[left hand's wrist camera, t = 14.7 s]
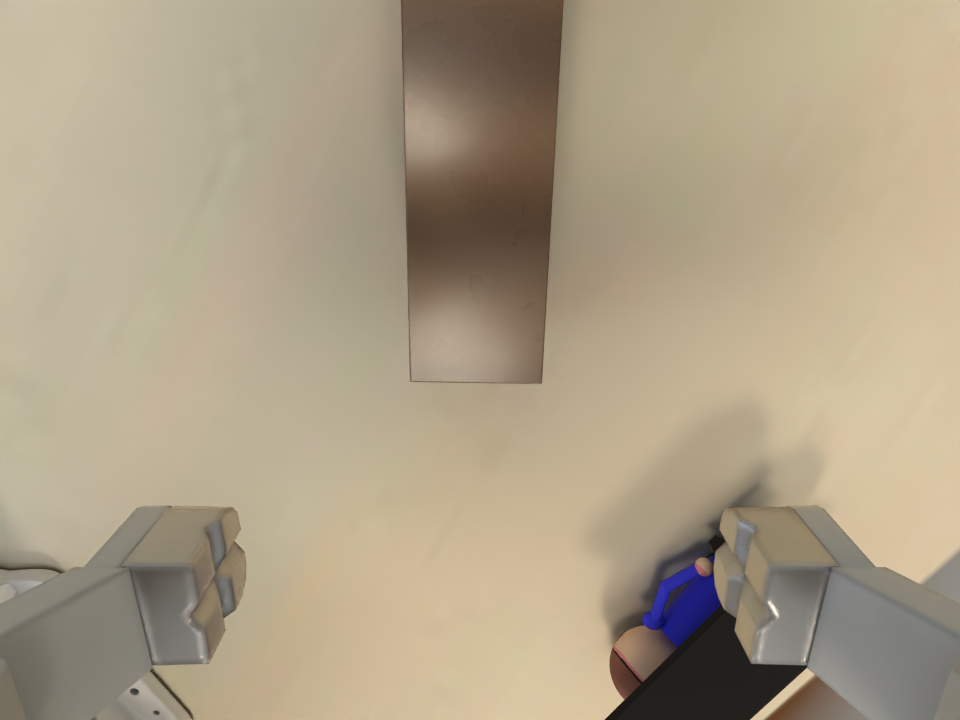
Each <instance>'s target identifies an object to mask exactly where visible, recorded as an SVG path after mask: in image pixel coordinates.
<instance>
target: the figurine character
mask: <svg viewBox="0 0 960 720" xmlns="http://www.w3.org/2000/svg"><path fill="white" fill-rule="evenodd" d="M725 541H726V540H725V538H724V537H723V535H722V533H721V534H720V535H719V536H717V535H715V536H714V537H713V538H712V539H711V540H710V541H709V543H710V545H711V546H710V547H709V548H708V554H707V558H708V557H710V556H712V558H711V559H710V560H709V559H707V558H703V557H702V558H699V559H697V560H696V562H695V563H694V564H693V565H691V566H689V567H687V568H685V569H683V570H682V571H680V572H678V573H676V574H674V575H673V576H671V577H669V578H667V579H665V580H663V581H661V583H660V586H659V589H658V592H657V595H656V598H655V601H654V604H653V607H652V610H651V612H647V613H645V614H644V615H643V618H642V621H643V624H644V625H642V626H636V627H633V628H631V629H629V630H627V631H625V632H624V633H623V634H622V635H621V636H620V637H619V638H618V639H617V641H616V642H615V644H614V646H613V648H612V651H611V655H610V673H611V677H612V680H613V683H614V685H615V687H616V689H617V690H618V692H619V694H620V695H621V696H622V697H623V698H624V699H625V700H624V701H623V702H622V703H621V704H620V705H619V706H618V707H617V708H616V709H615V710H614V711H613V712H612V713H611V714H610V715H609V716H608V717H607V718H606V719H605V720H750V719H751V718H752V717H753V716H755V715H756V714H757V713H758V712H759V711H760V710H761V709H762V708H763V707H764V706H765V705H767V704H768V703H769V702H770V701H771V700H772V699H773V698H774V697H775V696H776V695H778V694H779V693H780V692H781V691H782V690H783V689H784V688H785V687H786V686H787V685H788V684H790V683H791V682H792V681H793V680H794V679H795V678H796V677H797V676H798V675H799V674H801V673H802V672H803V671H804V670H805V669H806V668H807V667H808V665H778V664H751V662H750V660H749V658H748V656H747V654H746V652H745V650H744V648H743V646H742V644H741V642H740V640H739V638H738V636H737V634H736V632H735V625H736V619H737V618H735V617H734V616H733V615H731V614H730V613H728V612H727V611H725V610H724V608H723V606H722V604H721V602H720V600H719V598H718V594H717V591H716V587H715V580H714V569H713V568H714V560H715V556H713V555H715V552H716V551H717V550H718V549H719V548H720V547H721V545H722V544H723V543H724V542H725ZM692 579H693V580H692ZM691 580H692V581H691ZM689 581H691V582H690V583H689V584H688V585H687V587H686V588H685V589H684V590H683V591H682V592H681V594H680V595H679V596H678V597H677V598H676V599H675V600H674V602H673V603H672V604H671V605H670V606H669V607H668V609H667V610H666V611H665V612H664V610H665V607H666V604H667V601H668V598H669V595H670V592H671V591H672V590H674V589H676V588H678V587H680V586H681V585H683V584H685V583H687V582H689Z"/></svg>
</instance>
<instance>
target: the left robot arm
mask: <svg viewBox="0 0 960 720" xmlns="http://www.w3.org/2000/svg"><path fill="white" fill-rule="evenodd" d="M240 530H241V528H240V523H239V518H238V513H237V511H236V510H235V509H234V508H233V507H204V506H173V507H172V506H143V507H139V508H137V509H136V510H135V511H134V512H133V513H132V514H131V515H130V516H129V517H128V518H127V520H126V521H125V522H124V523H123V524H122V525H121V526H120V527H119V529H118V530H117V531H116V532H115V533H114V534H113V535H112V536H111V538H110V539H109V540H108V541H107V542H106V543H105V544H104V545H103V546H102V548H101V549H100V550H99V551H98V552H97V553H96V554H95V555H94V557H93V558H92V559H91V560H90V561H89V562H88V563H87V564H86V566H85V567H74V568H72V569H70V570H68V571H66V572H64V573H62V574H60V573H58V572H56V571H53V570H48V569H23V570H11V571H10V570H2V569H0V720H192V718H191V717H190V715H189V714H188V713H187V712H186V710H185V709H184V708H183V707H182V706H181V705H180V704H179V702H178V701H177V700H176V699H175V698H174V697H173V696H172V695H171V694H170V692H169V691H168V690H167V689H166V688H165V687H164V686H163V685H162V684H161V682H160V681H159V680H158V679H157V678H156V677H155V676H154V675H153V674H152V672H151V671H150V670H151V669H152V668H153V667H152V665H181V664H209V662H210V660H211V658H212V656H213V654H214V652H215V650H216V648H217V646H218V644H219V642H220V640H221V638H222V636H223V634H224V632H225V625H224V619H223V618H225V617H226V616H227V615H229V614H230V613H232V612H233V611H235V610H236V608H237V606H238V604H239V602H240V600H241V598H242V595H243V590H244V586H245V581H246V559H245V552H244V551H243V550H242V549H241V548H240V547H239V545H238V544H237V543H236V542H235V541H234V540H235V538H236V537H237V535H238V533H239V531H240ZM719 530H720V531H721V533H722V535H723V537H724V538H725V540H726V541H725V542H724V543H723V544H722V545H721V547H720V548H719V549H718V550H717V551H716V552H715V560H714V568H713V569H714V580H715V587H716V591H717V594H718V598H719V600H720V602H721V604H722V606H723V608H724V610H725V611H727V612H728V613H730V614H731V615H733V616H734V617H735V618H737V619H736V625H735V632H736V634H737V636H738V638H739V640H740V642H741V644H742V646H743V648H744V650H745V652H746V654H747V656H748V658H749V660H750V662H751V664H778V665H808V667H807V668H808V669H809V670H810V671H812V672H813V673H814V674H815V675H816V676H818V677H819V678H820V679H821V680H822V681H824V682H825V683H826V684H827V685H828V686H830V687H831V688H832V689H833V690H834V691H836V692H837V693H838V694H839V695H840V696H841V697H843V698H844V699H845V700H846V701H847V702H849V703H850V704H851V705H852V706H853V707H855V708H856V709H857V710H858V711H859V712H861V713H862V714H863V715H864V716H865V717H867V718H868V719H869V720H960V604H959V603H957V602H955V601H953V600H951V599H949V598H947V597H945V596H943V595H941V594H939V593H937V592H935V591H933V590H931V589H929V588H927V587H925V586H923V585H921V584H919V583H916V582H914V581H912V580H910V579H908V578H906V577H904V576H902V575H900V574H898V573H896V572H894V571H892V570H890V569H888V568H886V567H875V566H874V564H873V563H872V562H871V561H870V560H869V559H868V558H867V557H866V555H865V554H864V553H863V552H862V551H861V550H860V549H859V548H858V547H857V545H856V544H855V543H854V542H853V541H852V540H851V539H850V538H849V536H848V535H847V534H846V533H845V532H844V531H843V530H842V529H841V527H840V526H839V525H838V524H837V523H836V522H835V521H834V520H833V518H832V517H831V516H830V515H829V514H828V513H827V512H826V511H825V510H824V509H823V508H821V507H819V506H817V505H811V506H786V507H750V508H725V510H724V512H723V514H722V516H721V522H720V527H719Z"/></svg>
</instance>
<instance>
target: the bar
mask: <svg viewBox="0 0 960 720" xmlns="http://www.w3.org/2000/svg"><path fill="white" fill-rule="evenodd" d="M401 18H402V60H403V102H404V144H405V187H406V229H407V271H408V313H409V356H410V381H411V382H463V383H526V384H541V383H542V371H543V353H544V335H545V318H546V300H547V282H548V265H549V247H550V229H551V212H552V194H553V177H554V159H555V141H556V124H557V106H558V88H559V71H560V53H561V35H562V18H563V0H401Z"/></svg>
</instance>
